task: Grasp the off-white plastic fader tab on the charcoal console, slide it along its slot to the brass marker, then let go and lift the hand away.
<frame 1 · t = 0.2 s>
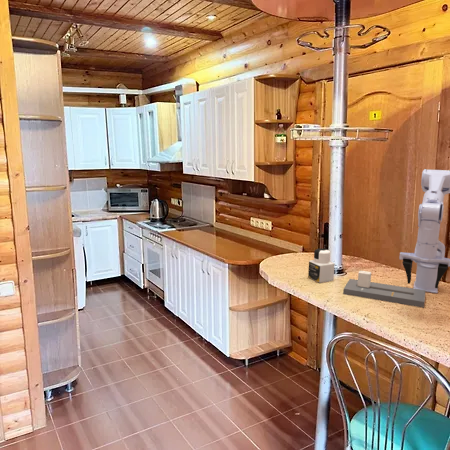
hand: (422, 284, 127), 10 cm above the table, tool pointing down, fingers open, 7 cm apart
medicine bottle: (320, 279, 162), on the table
fader console: (383, 294, 146), on the table
fader tab: (364, 279, 148), point 5 cm above the table, slide at 0.0 cm
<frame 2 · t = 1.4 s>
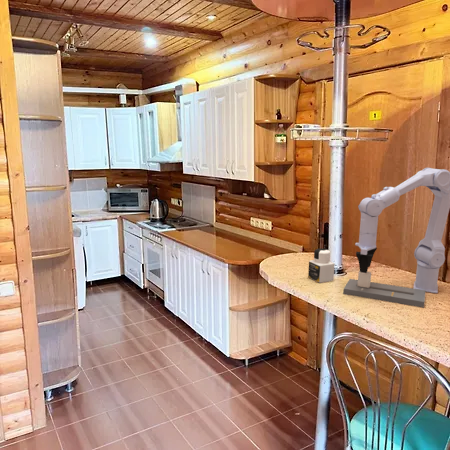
hand: (365, 269, 147), 8 cm above the table, tool pointing down, fingers open, 7 cm apart
nothing on the table moved.
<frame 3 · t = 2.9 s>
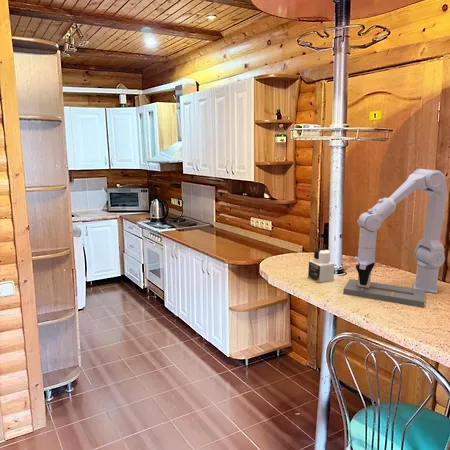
hand: (364, 283, 149), 3 cm above the table, tool pointing down, fingers closed on fader tab, 3 cm apart
fader tab: (364, 279, 148), point 5 cm above the table, slide at 0.0 cm, touching gripper
everything else where it was.
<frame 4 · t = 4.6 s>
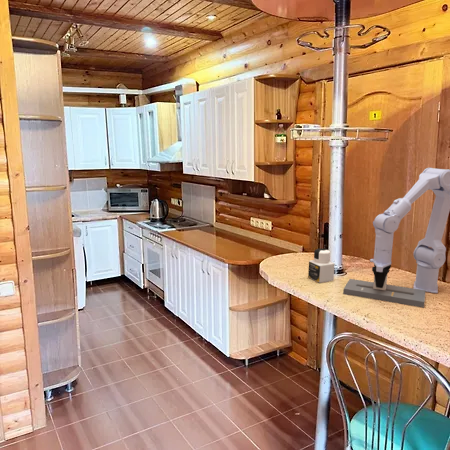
hand: (380, 285, 146), 3 cm above the table, tool pointing down, fingers closed on fader tab, 3 cm apart
fader tab: (380, 281, 146), point 5 cm above the table, slide at 5.4 cm, touching gripper
everything else where it was.
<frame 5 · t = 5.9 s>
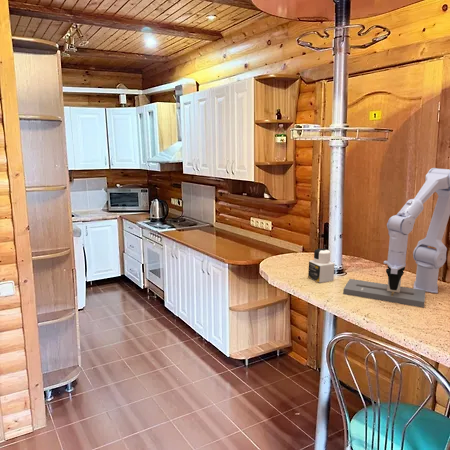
hand: (393, 287, 144), 3 cm above the table, tool pointing down, fingers closed on fader tab, 3 cm apart
fader tab: (394, 283, 144), point 5 cm above the table, slide at 10.0 cm, touching gripper
everything else where it was.
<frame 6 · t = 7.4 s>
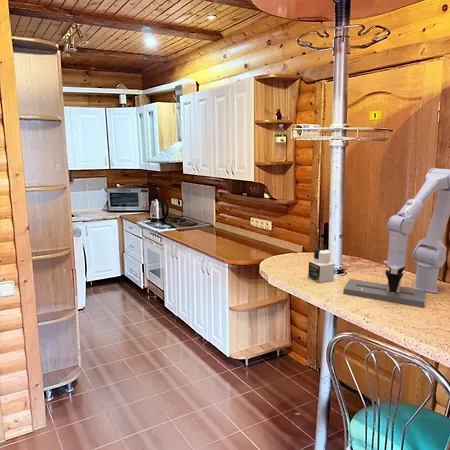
hand: (393, 287, 144), 3 cm above the table, tool pointing down, fingers open, 7 cm apart
fader tab: (394, 283, 144), point 5 cm above the table, slide at 10.0 cm
everything else where it was.
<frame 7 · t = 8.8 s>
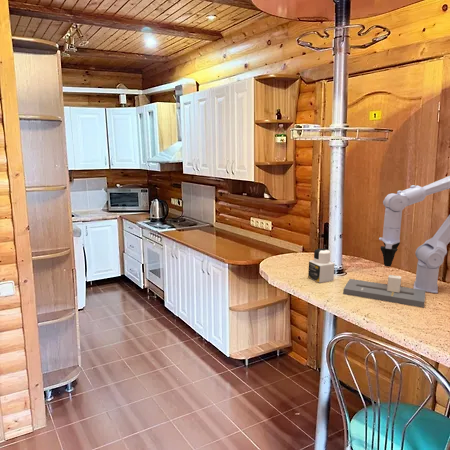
hand: (388, 263, 151), 9 cm above the table, tool pointing down, fingers open, 7 cm apart
nothing on the table moved.
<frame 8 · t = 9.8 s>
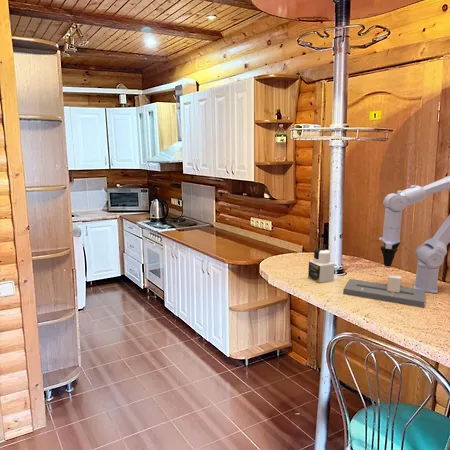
hand: (388, 263, 151), 9 cm above the table, tool pointing down, fingers open, 7 cm apart
nothing on the table moved.
at the end: fader tab slide at 10.0 cm; the gripper is holding nothing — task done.
